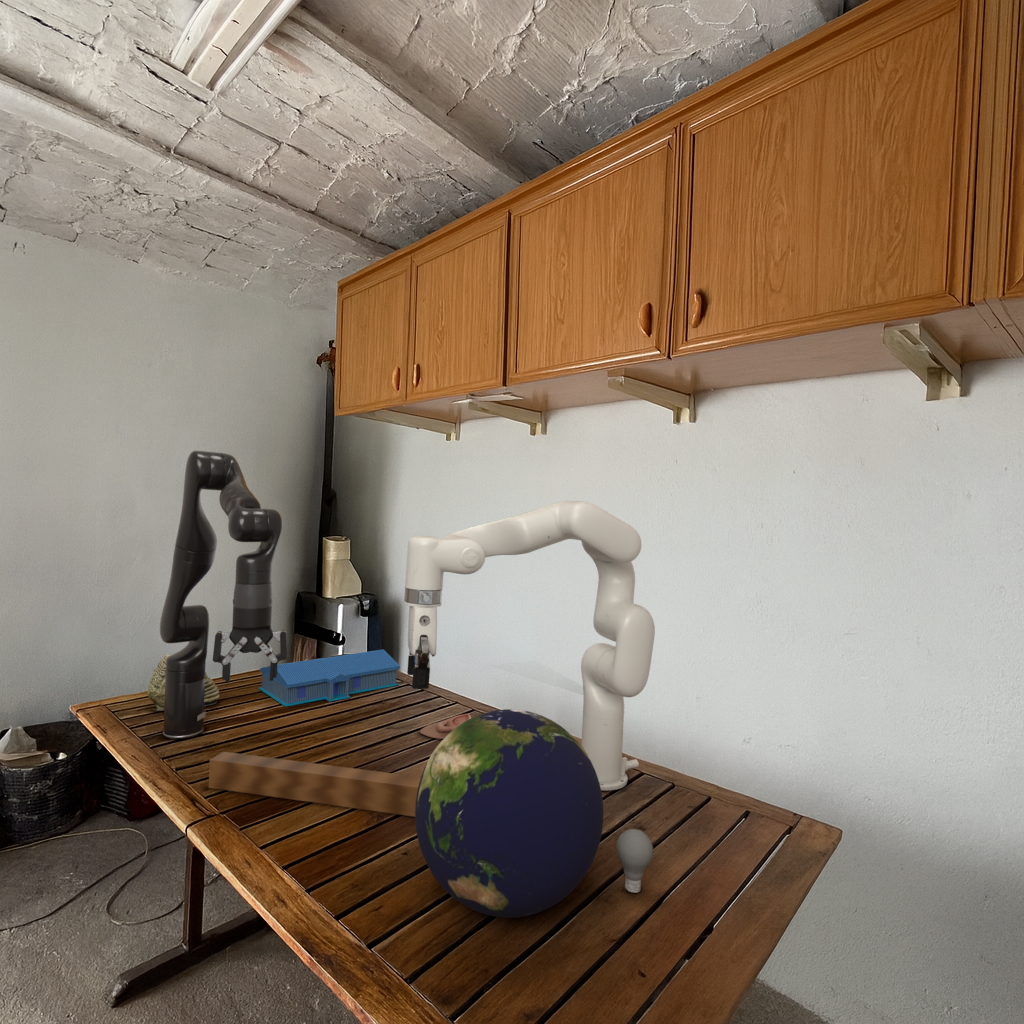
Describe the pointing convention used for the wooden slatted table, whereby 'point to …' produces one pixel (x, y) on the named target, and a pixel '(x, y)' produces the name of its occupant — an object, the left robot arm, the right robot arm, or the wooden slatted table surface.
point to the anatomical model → (444, 726)
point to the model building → (330, 677)
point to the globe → (509, 813)
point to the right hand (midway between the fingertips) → (417, 681)
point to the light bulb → (634, 857)
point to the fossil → (158, 687)
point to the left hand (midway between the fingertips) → (249, 680)
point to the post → (315, 783)
